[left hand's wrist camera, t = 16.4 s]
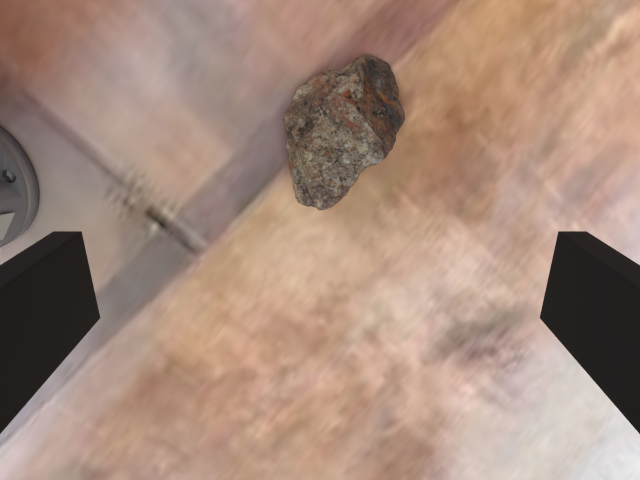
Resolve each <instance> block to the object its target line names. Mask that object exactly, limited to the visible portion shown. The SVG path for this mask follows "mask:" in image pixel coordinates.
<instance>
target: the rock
mask: <svg viewBox="0 0 640 480" xmlns="http://www.w3.org/2000/svg"><path fill="white" fill-rule="evenodd" d="M398 91H399V90H398V87H397V84H396V81H395V77H394V74H393V72H392V70H391V68H390V67H389V65H388V63H386V62H385V61H383V60H381V59H379V58H376V57H374V56H372V55H362V56H360V57H359V58H356V59H355V60H354V61H353V62H351V63H350V64H349V65H348V66H346V67H345V68H343V69H341V70H336V71H329V70H325V71H324V72H322V73H319V74H317V75H315V76H314V77H312V78H311V79H309V80H308V82H306V83H305V84H303V85H302V86H300V87H299V88H298V89H297V92H296V93H295V96H294V98H293V102H292V104H291V105H290V107H289V109H288V111H287V113H286V114H285V116H284V119H283V122H284V125H285V131H286V136H287V143H286V146H287V162H288V165H289V168H290V173H291V177H292V178H293V188H294V191H295V197H296V199H297V201H298V203H301V204H302V205H305V206H308V207H309V206H312V207H317V209H318V210H325V209H328V208H331V207H332V206H334V205H335V204H336V203H338V202H339V201H340V200H341V199H342V198H343V197H344V196H346V194H347V192H348V191H349V189H350V188H351V187H352V186H353V185H354V183H355V182H356V180H357V179H358V176H359V174H360V173H361V172H362V171H363V170H364V169H365V168H366V167H369V166H372V165H376V164H378V163H379V162H381V161H382V160H383V159H384V158H385V157H387V155H388V152H390V151H391V150H392V148H393V145H394V143H395V141H396V133H397V132H398V131H399V128H400V127H401V126H402V124H403V122H404V120H405V116H404V111H403V108H402V105H401V104H400V102H399V101H398Z"/></svg>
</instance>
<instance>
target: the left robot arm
mask: <svg viewBox="0 0 640 480" xmlns="http://www.w3.org/2000/svg"><path fill="white" fill-rule="evenodd" d="M38 201H39V190H38V183H37V179H36V175H35V173H34V170H33V167H32V165H31V163H30V161H29V159H28V157H27V156H26V154H25V153H24V151H23V149H22V148H21V147H20V146H19V144H18V143H17V142H16V141H15V140H14V139H13V137H12V136H11V135H10V134H8V133H7V132H6V131H5V130H4V129H3V128H2V127H0V247H2V246H4V245H5V244H7V243H9V242H10V241H12V240H14V239H16V238H17V237H19V236H20V235H21V234H23V233H24V232H25V231H26V230H27V228H28V227H29V226H30V225H31V223H32V221H33V219H34V217H35V215H36V212H37V208H38ZM99 319H100V315H99V310H98V306H97V301H96V296H95V292H94V287H93V283H92V278H91V273H90V269H89V264H88V259H87V255H86V250H85V246H84V241H83V236H82V232H52V233H51V234H49V235H47V236H46V237H44V238H43V239H41V240H40V241H38V242H36V243H35V244H33V245H32V246H30V247H28V248H27V249H25V250H24V251H22V252H21V253H19V254H17V255H16V256H14V257H13V258H11V259H10V260H8V261H6V262H5V263H3V264H2V265H0V434H1V432H2V431H3V430H4V429H5V428H6V427H7V425H8V424H9V423H10V422H11V421H12V420H13V418H14V417H15V416H16V415H17V414H18V413H19V411H20V410H21V409H22V408H23V407H24V406H25V405H26V403H27V402H28V401H29V400H30V399H31V398H32V396H33V395H34V394H35V393H36V392H37V391H38V389H39V388H40V387H41V386H42V385H43V384H44V382H45V381H46V380H47V379H48V378H49V377H50V376H51V374H52V373H53V372H54V371H55V370H56V369H57V367H58V366H59V365H60V364H61V363H62V362H63V360H64V359H65V358H66V357H67V356H68V355H69V353H70V352H71V351H72V350H73V349H74V348H75V346H76V345H77V344H78V343H79V342H80V341H81V340H82V338H83V337H84V336H85V335H86V334H87V333H88V331H89V330H90V329H91V328H92V327H93V326H94V324H95V323H96V322H97V321H98V320H99ZM540 319H541V320H542V321H543V322H544V323H545V324H546V326H547V327H548V328H549V329H550V330H551V331H552V333H553V334H554V335H555V336H556V337H557V338H558V340H559V341H560V342H561V343H562V344H563V345H564V346H565V348H566V349H567V350H568V351H569V352H570V353H571V355H572V356H573V357H574V358H575V359H576V360H577V362H578V363H579V364H580V365H581V366H582V367H583V369H584V370H585V371H586V372H587V373H588V374H589V376H590V377H591V378H592V379H593V380H594V381H595V382H596V384H597V385H598V386H599V387H600V388H601V389H602V391H603V392H604V393H605V394H606V395H607V396H608V398H609V399H610V400H611V401H612V402H613V403H614V405H615V406H616V407H617V408H618V409H619V410H620V411H621V413H622V414H623V415H624V416H625V417H626V418H627V420H628V421H629V422H630V423H631V424H632V425H633V427H634V428H635V429H636V430H637V431H638V432H639V434H640V265H638V264H637V263H635V262H634V261H632V260H630V259H629V258H627V257H626V256H624V255H623V254H621V253H619V252H618V251H616V250H615V249H613V248H612V247H610V246H608V245H607V244H605V243H604V242H602V241H600V240H599V239H597V238H596V237H594V236H593V235H591V234H589V233H588V232H558V236H557V241H556V246H555V250H554V255H553V259H552V264H551V269H550V273H549V278H548V283H547V287H546V292H545V296H544V301H543V306H542V310H541V315H540Z"/></svg>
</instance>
